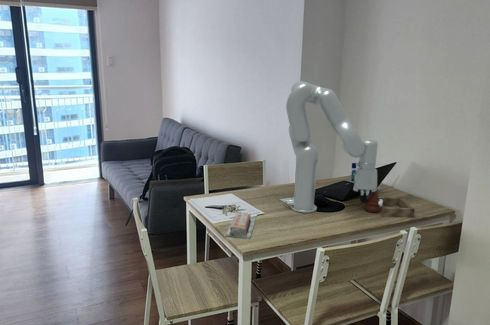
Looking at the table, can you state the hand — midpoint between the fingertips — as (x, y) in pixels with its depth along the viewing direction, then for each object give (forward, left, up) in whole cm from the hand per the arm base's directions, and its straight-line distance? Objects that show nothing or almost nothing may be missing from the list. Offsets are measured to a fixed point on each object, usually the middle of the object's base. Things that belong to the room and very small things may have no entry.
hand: (363, 202), depth 195 cm
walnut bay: (+13, 0, -4) cm, 14 cm away
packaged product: (-58, -28, -4) cm, 65 cm away
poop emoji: (+5, 0, -4) cm, 6 cm away
